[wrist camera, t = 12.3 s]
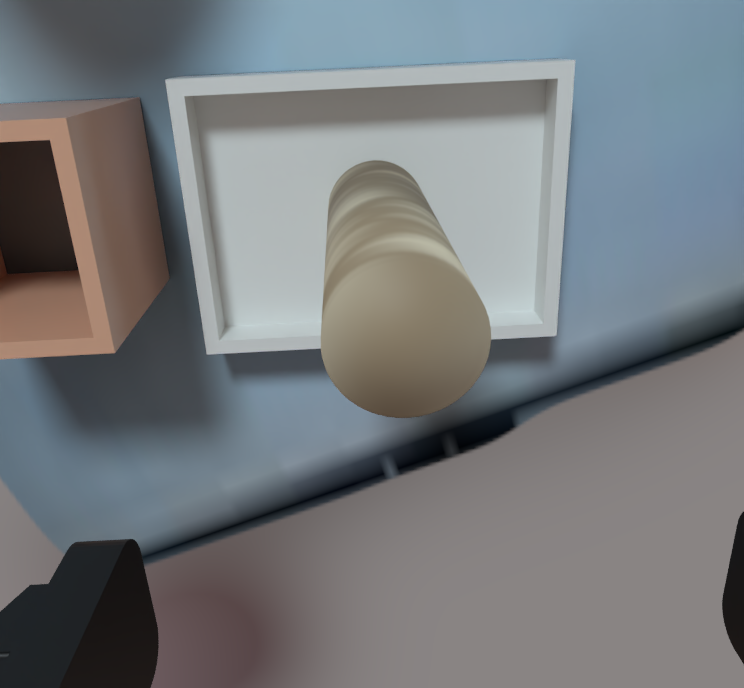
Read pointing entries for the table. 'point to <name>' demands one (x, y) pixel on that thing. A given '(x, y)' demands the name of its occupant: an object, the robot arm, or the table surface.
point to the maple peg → (396, 299)
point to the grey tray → (360, 144)
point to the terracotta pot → (88, 231)
